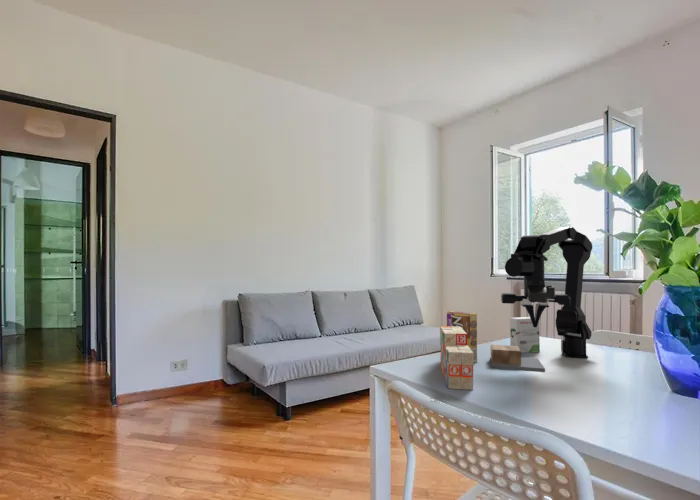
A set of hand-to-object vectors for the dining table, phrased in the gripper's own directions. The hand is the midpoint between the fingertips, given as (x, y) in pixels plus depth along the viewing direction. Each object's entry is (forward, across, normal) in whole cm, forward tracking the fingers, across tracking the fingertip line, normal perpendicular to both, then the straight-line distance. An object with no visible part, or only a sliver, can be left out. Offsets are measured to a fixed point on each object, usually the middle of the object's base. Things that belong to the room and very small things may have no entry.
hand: (534, 327), depth 116 cm
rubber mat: (+12, -6, 0) cm, 13 cm away
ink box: (+12, -1, +19) cm, 22 cm away
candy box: (+12, -22, 0) cm, 24 cm away
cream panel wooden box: (+9, -4, 0) cm, 10 cm away
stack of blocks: (+12, -23, -19) cm, 32 cm away
